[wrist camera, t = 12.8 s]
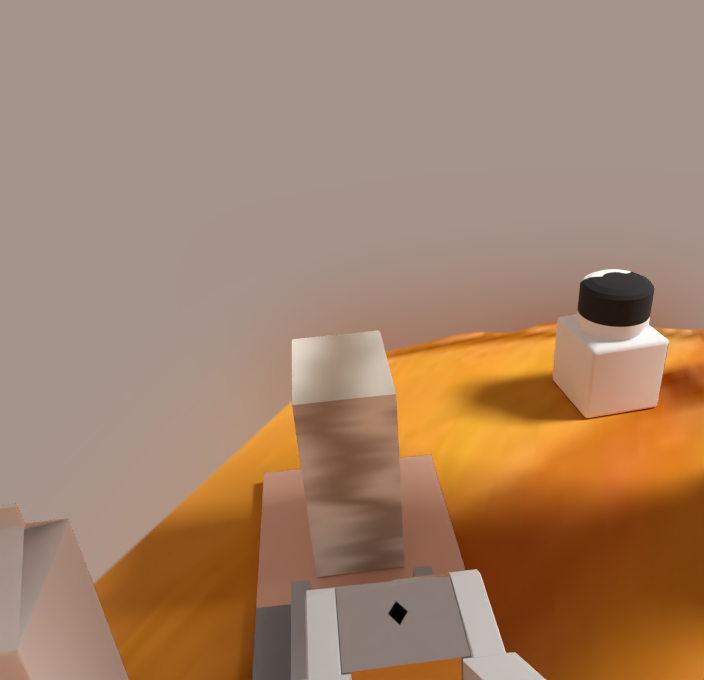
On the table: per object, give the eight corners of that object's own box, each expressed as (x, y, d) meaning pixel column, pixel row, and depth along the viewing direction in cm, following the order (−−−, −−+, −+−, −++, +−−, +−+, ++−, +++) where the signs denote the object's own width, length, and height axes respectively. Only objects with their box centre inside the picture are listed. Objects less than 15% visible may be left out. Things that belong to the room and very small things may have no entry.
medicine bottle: (658, 408, 60) (680, 288, 54) (585, 420, 59) (599, 300, 53) (617, 369, 66) (633, 258, 60) (550, 379, 65) (560, 268, 59)
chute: (431, 463, 55) (430, 435, 54) (536, 820, 31) (540, 786, 30) (265, 482, 55) (260, 453, 53) (245, 859, 31) (235, 826, 29)
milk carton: (16, 728, 37) (-122, 469, 28) (141, 710, 38) (44, 449, 29) (-36, 875, 31) (-234, 603, 22) (115, 852, 32) (-20, 575, 23)
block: (389, 487, 51) (379, 330, 45) (404, 566, 44) (396, 393, 38) (313, 496, 51) (292, 339, 44) (316, 577, 44) (292, 405, 37)
